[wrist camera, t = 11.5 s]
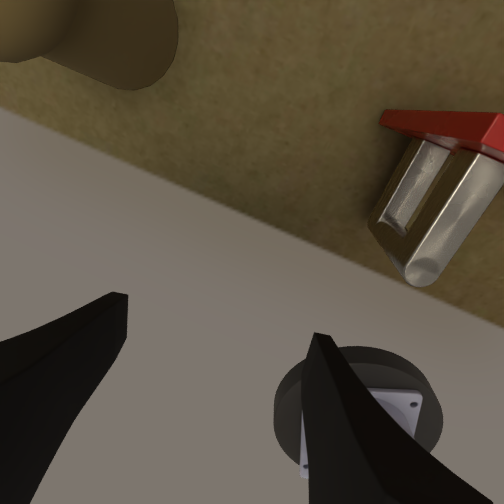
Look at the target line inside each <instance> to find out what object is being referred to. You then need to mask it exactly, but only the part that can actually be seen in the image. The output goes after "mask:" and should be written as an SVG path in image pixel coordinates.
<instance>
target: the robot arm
mask: <svg viewBox="0 0 504 504" xmlns="http://www.w3.org/2000/svg"><path fill="white" fill-rule="evenodd" d="M127 314H128V295H127V294H122V293H117V292H110V293H108V294H106V295H104V296H102V297H100V298H98V299H96V300H94V301H93V302H91V303H89V304H87V305H85V306H83V307H81V308H79V309H77V310H75V311H73V312H71V313H69V314H67V315H65V316H63V317H61V318H58V319H56V320H54V321H52V322H49V323H47V324H45V325H43V326H41V327H38V328H36V329H34V330H31V331H29V332H26V333H23V334H21V335H18V336H15V337H13V338H10V339H7V340H4V341H1V342H0V504H30V502H31V500H32V498H33V496H34V494H35V492H36V490H37V488H38V486H39V484H40V482H41V480H42V478H43V476H44V475H45V473H46V471H47V469H48V467H49V465H50V463H51V461H52V460H53V458H54V456H55V454H56V452H57V450H58V448H59V447H60V445H61V443H62V441H63V439H64V438H65V436H66V434H67V432H68V430H69V429H70V427H71V425H72V423H73V422H74V420H75V419H76V417H77V415H78V414H79V412H80V411H81V409H82V408H83V406H84V405H85V404H86V402H87V401H88V399H89V398H90V396H91V395H92V393H93V392H94V391H95V389H96V388H97V386H98V385H99V383H100V382H101V380H102V379H103V377H104V376H105V375H106V373H107V372H108V370H109V369H110V367H111V366H112V364H113V363H114V361H115V360H116V358H117V356H118V354H119V352H120V350H121V348H122V346H123V344H124V342H125V340H126V338H127ZM422 399H423V398H422V395H421V393H420V392H419V391H418V390H409V389H384V388H366V387H365V385H364V384H363V383H362V381H361V380H360V379H359V377H358V376H357V375H356V373H355V372H354V370H353V369H352V368H351V366H350V365H349V363H348V362H347V360H346V359H345V357H344V356H343V354H342V353H341V351H340V350H339V348H338V347H337V345H336V344H335V342H334V341H333V339H332V338H331V336H330V335H325V334H320V333H314V335H313V338H312V341H311V344H310V347H309V351H308V353H307V357H306V360H305V363H304V366H303V369H302V372H301V404H302V423H301V446H300V470H299V471H300V476H301V477H302V478H305V479H309V504H493V502H492V501H491V500H490V499H488V498H487V497H485V496H484V495H483V494H481V493H480V492H479V491H477V490H476V489H474V488H473V487H472V486H470V485H469V484H468V483H466V482H465V481H464V480H462V479H461V478H459V477H458V476H457V475H456V474H454V473H453V472H451V471H450V470H449V469H448V468H447V467H445V466H444V465H443V464H442V463H441V462H439V461H438V460H437V459H436V458H435V457H433V456H432V455H431V454H430V453H429V452H428V451H426V450H425V449H424V448H423V447H422V446H421V445H420V444H419V443H418V442H416V441H415V439H414V434H415V429H416V425H417V421H418V416H419V412H420V408H421V404H422ZM412 402H414V403H412Z"/></svg>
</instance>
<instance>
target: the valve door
mask: <svg viewBox="0 0 504 504" xmlns="http://www.w3.org/2000/svg"><path fill="white" fill-rule="evenodd" d="M379 124H380V125H382V126H384V127H387V128H389V129H391V130H394V131H396V132H399V133H401V134H403V135H406V136H408V137H411V138H413V139H412V141H411V143H410V144H409V146H408V148H407V150H406V152H405V153H404V155H403V157H402V159H401V161H400V163H399V164H398V166H397V168H396V170H395V172H394V173H393V175H392V177H391V179H390V181H389V182H388V184H387V186H386V188H385V190H384V192H383V193H382V195H381V197H380V199H379V201H378V202H377V204H376V206H375V208H374V210H373V211H372V213H371V215H370V217H369V219H368V222H367V225H368V229H369V230H370V232H371V233H372V235H373V236H374V237H375V239H376V240H377V242H378V243H379V245H380V246H381V247H382V249H383V250H384V252H385V253H386V254H387V256H388V257H389V259H390V260H391V262H392V263H393V264H394V266H395V267H396V269H397V270H398V271H399V273H400V274H401V276H402V277H403V279H404V280H405V281H406V282H407V283H408V284H409V285H411V286H414V287H425V286H428V285H430V284H432V283H433V282H435V281H436V280H437V279H438V277H439V276H440V274H441V273H442V271H443V270H444V268H445V267H446V266H447V264H448V263H449V261H450V260H451V258H452V257H453V256H454V254H455V253H456V251H457V250H458V248H459V247H460V246H461V244H462V243H463V241H464V240H465V238H466V237H467V236H468V234H469V233H470V231H471V230H472V228H473V227H474V226H475V224H476V223H477V221H478V220H479V218H480V217H481V216H482V214H483V213H484V211H485V210H486V208H487V207H488V206H489V204H490V203H491V201H492V200H493V198H494V197H495V196H496V194H497V193H498V191H499V190H500V188H501V187H502V186H503V184H504V114H501V113H489V112H455V111H422V110H388V109H386V110H385V112H384V114H383V116H382V118H381V120H380V122H379ZM449 154H451V155H454V157H453V158H452V160H451V162H450V163H449V165H448V166H447V168H446V170H445V171H444V173H443V175H442V176H441V178H440V180H439V181H438V183H437V184H436V186H435V188H434V189H433V191H432V193H431V194H430V196H429V197H428V199H427V201H426V202H425V204H424V206H423V207H422V209H421V210H420V212H419V214H418V215H417V217H416V219H415V220H414V222H413V223H412V225H411V227H410V228H409V230H407V229H406V228H405V226H406V224H407V223H408V221H409V220H410V218H411V216H412V215H413V213H414V211H415V210H416V208H417V206H418V205H419V203H420V201H421V200H422V198H423V196H424V195H425V193H426V192H427V190H428V188H429V187H430V185H431V183H432V182H433V180H434V178H435V177H436V175H437V173H438V172H439V170H440V168H441V167H442V165H443V164H444V162H445V160H446V159H447V157H448V155H449Z"/></svg>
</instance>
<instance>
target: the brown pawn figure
mask: <svg viewBox="0 0 504 504" xmlns="http://www.w3.org/2000/svg"><path fill="white" fill-rule="evenodd" d="M177 43H178V19H177V15H176V12H175V8H174V4H173V1H172V0H0V62H11V63H18V62H22V61H26V60H29V59H32V58H35V57H38V56H42V57H44V58H46V59H49V60H51V61H53V62H56V63H58V64H60V65H63V66H65V67H68V68H70V69H72V70H75V71H77V72H79V73H82V74H84V75H86V76H89V77H91V78H93V79H96V80H98V81H101V82H103V83H105V84H108V85H110V86H112V87H115V88H117V89H125V90H137V89H141V88H144V87H148V86H150V85H152V84H153V83H154V82H156V81H157V80H158V79H159V78H161V77H162V76H163V75H164V74H165V72H166V70H167V69H168V67H169V66H170V64H171V63H172V61H173V58H174V55H175V51H176V47H177Z"/></svg>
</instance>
